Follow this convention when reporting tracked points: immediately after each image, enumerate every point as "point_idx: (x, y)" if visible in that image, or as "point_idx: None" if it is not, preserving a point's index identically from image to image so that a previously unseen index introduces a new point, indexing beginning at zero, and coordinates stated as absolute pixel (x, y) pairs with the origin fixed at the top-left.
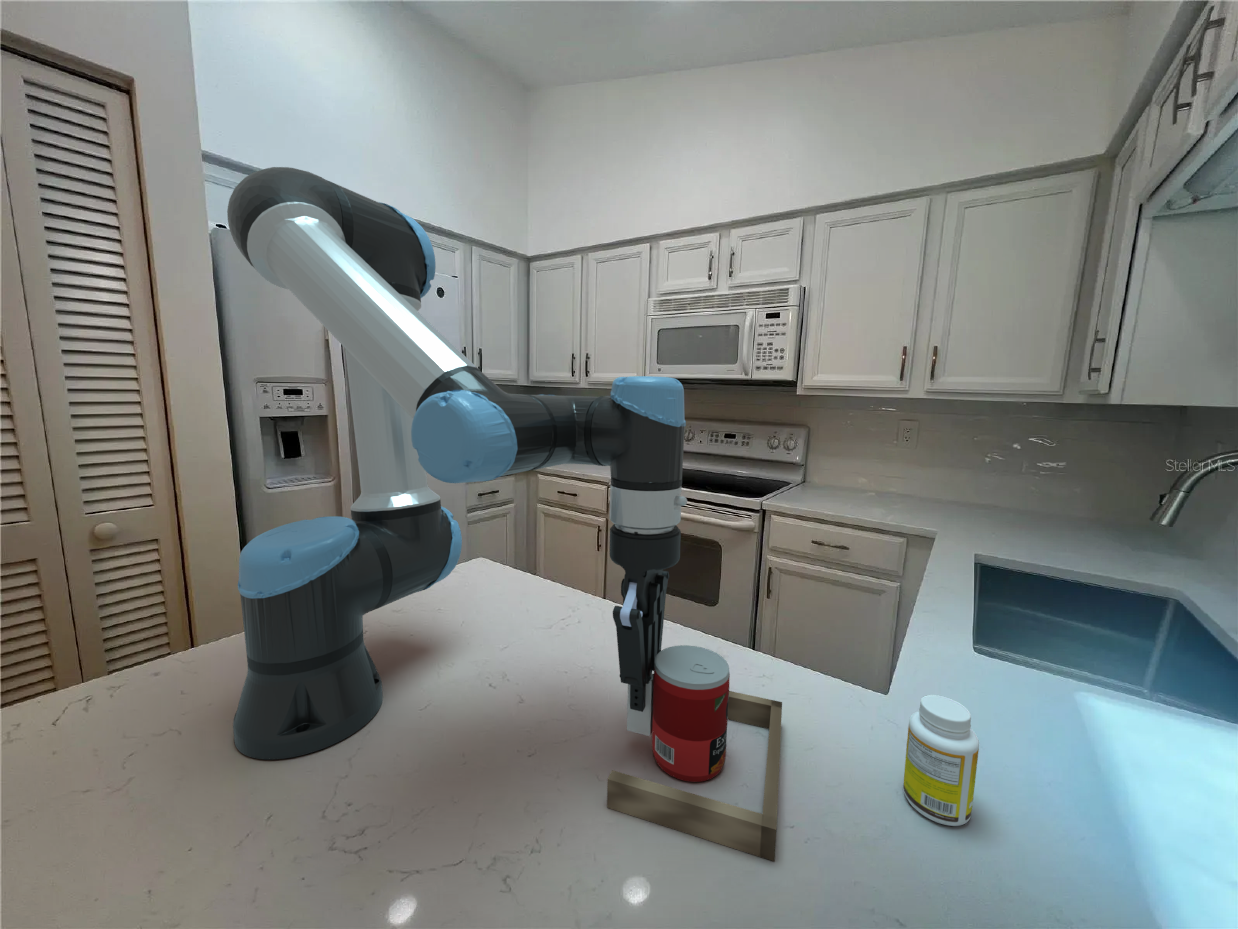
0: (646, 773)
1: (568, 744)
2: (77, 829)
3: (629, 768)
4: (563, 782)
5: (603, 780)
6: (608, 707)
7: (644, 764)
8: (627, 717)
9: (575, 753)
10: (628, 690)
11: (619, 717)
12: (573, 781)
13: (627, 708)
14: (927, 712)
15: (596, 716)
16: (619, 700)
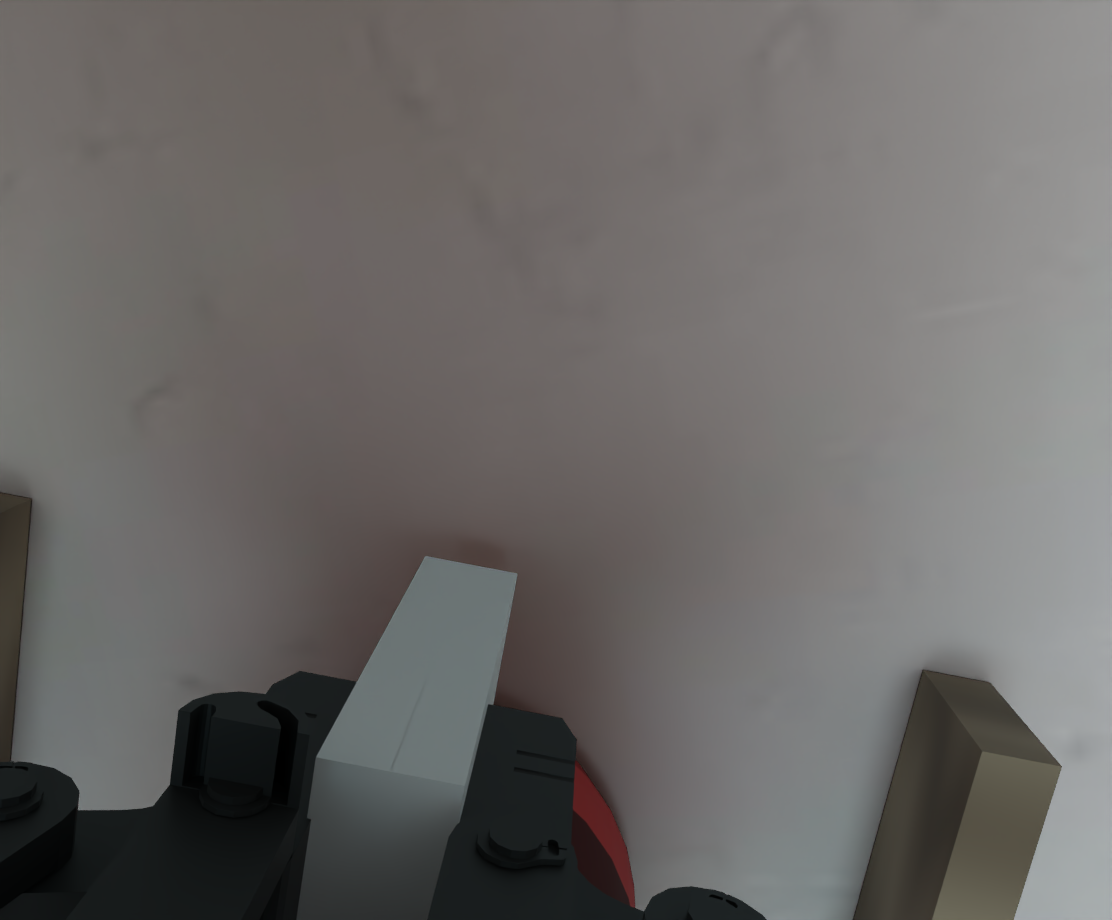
0: (253, 660)
1: (379, 134)
2: None
3: (266, 563)
4: (63, 196)
5: (140, 430)
6: (823, 334)
7: (318, 643)
8: (407, 591)
9: (309, 206)
10: (358, 691)
11: (720, 433)
12: (86, 256)
13: (395, 616)
14: None
15: (705, 265)
16: (921, 402)
